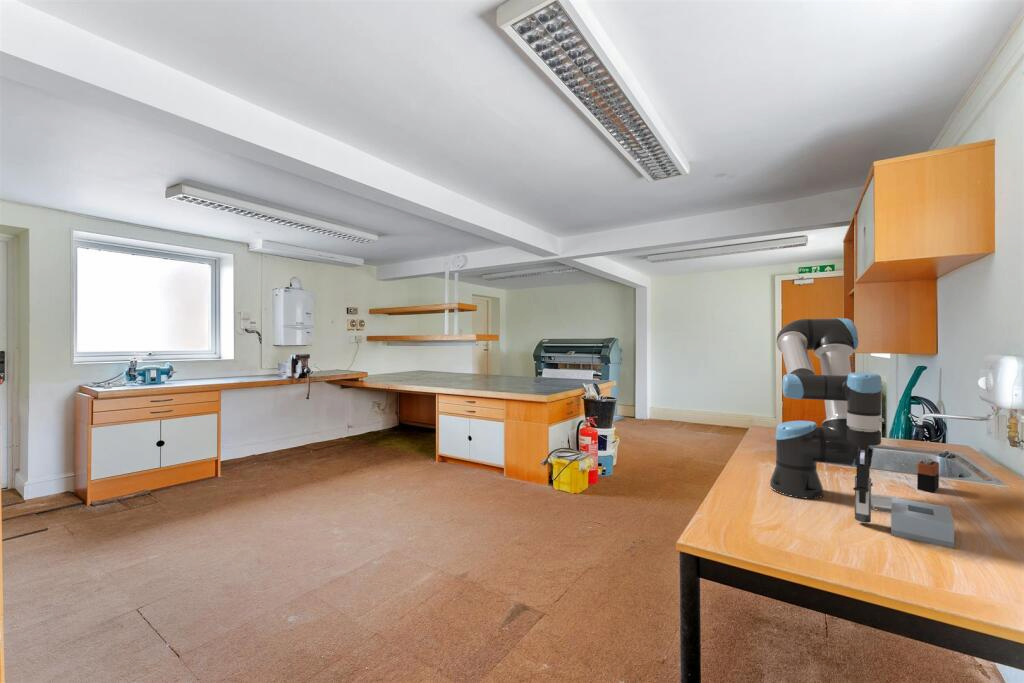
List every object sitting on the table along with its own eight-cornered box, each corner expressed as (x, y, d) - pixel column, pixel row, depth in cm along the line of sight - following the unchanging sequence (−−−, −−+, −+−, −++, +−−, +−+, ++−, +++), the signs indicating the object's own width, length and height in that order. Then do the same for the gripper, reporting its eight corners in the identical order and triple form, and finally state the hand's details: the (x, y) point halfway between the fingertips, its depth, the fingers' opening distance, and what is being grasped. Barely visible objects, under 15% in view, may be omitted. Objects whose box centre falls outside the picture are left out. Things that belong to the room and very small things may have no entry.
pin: (854, 520, 127) (854, 478, 126) (855, 515, 130) (855, 474, 129) (870, 523, 124) (871, 481, 124) (871, 519, 127) (871, 477, 127)
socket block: (891, 535, 120) (891, 512, 120) (891, 517, 131) (891, 497, 131) (954, 548, 112) (954, 524, 112) (949, 529, 123) (949, 507, 123)
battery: (916, 489, 152) (917, 460, 152) (922, 485, 156) (922, 456, 156) (934, 493, 149) (934, 463, 148) (939, 488, 153) (939, 459, 152)
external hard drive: (873, 511, 137) (863, 497, 148) (908, 516, 133) (895, 501, 144) (873, 506, 137) (863, 492, 148) (908, 510, 133) (895, 496, 144)
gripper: (880, 437, 117) (879, 525, 118) (882, 424, 129) (880, 504, 131) (844, 432, 122) (843, 517, 123) (849, 421, 134) (848, 498, 136)
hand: (862, 510), depth 127 cm, fingers closed on pin, 3 cm apart
